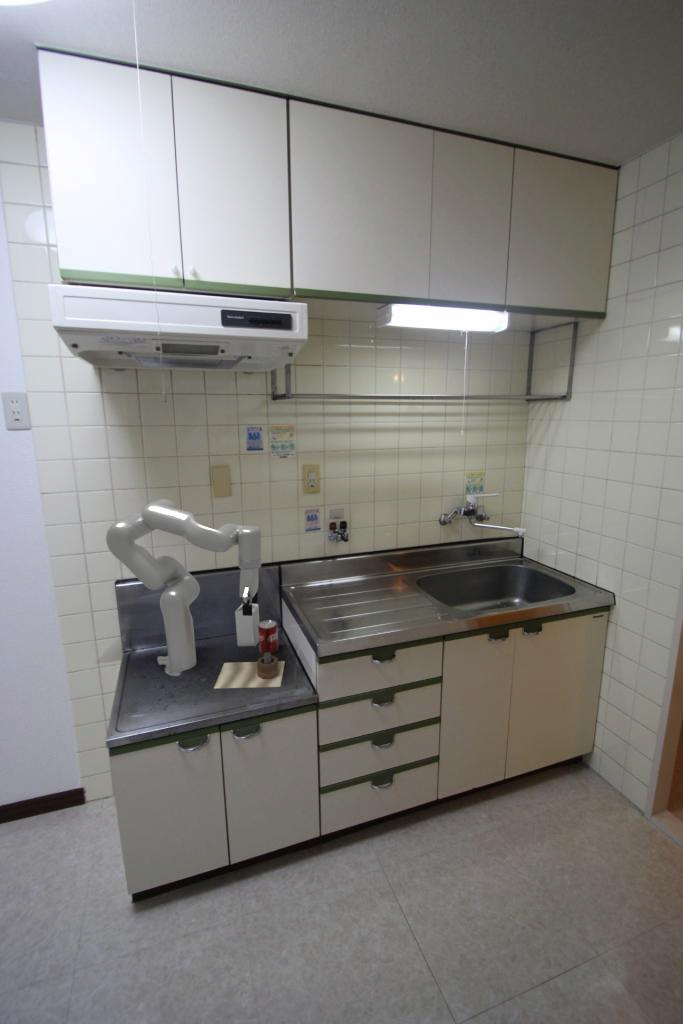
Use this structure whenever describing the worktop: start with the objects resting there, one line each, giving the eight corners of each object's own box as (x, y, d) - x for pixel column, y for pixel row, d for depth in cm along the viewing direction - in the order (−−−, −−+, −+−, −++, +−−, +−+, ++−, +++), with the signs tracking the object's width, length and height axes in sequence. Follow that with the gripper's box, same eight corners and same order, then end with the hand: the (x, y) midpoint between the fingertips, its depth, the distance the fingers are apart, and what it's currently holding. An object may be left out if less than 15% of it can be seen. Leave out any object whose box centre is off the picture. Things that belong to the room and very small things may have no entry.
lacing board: (213, 692, 154) (211, 668, 152) (224, 666, 170) (222, 643, 168) (280, 690, 155) (279, 666, 153) (285, 664, 170) (284, 642, 168)
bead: (256, 679, 159) (255, 666, 158) (259, 668, 166) (259, 655, 164) (276, 678, 159) (276, 665, 158) (279, 668, 166) (278, 655, 164)
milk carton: (237, 647, 184) (234, 602, 180) (244, 638, 191) (241, 594, 187) (254, 648, 183) (251, 603, 179) (260, 639, 190) (258, 595, 185)
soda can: (280, 648, 182) (279, 620, 180) (276, 658, 175) (274, 628, 173) (262, 647, 183) (260, 619, 180) (257, 657, 176) (255, 628, 173)
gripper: (244, 554, 167) (244, 598, 171) (232, 570, 150) (233, 619, 154) (265, 554, 167) (265, 599, 171) (256, 571, 150) (256, 620, 154)
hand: (250, 609), depth 162 cm, fingers open, 9 cm apart
